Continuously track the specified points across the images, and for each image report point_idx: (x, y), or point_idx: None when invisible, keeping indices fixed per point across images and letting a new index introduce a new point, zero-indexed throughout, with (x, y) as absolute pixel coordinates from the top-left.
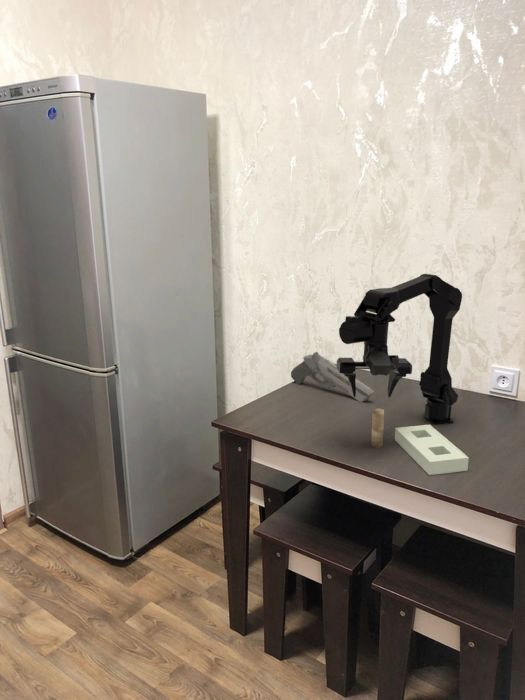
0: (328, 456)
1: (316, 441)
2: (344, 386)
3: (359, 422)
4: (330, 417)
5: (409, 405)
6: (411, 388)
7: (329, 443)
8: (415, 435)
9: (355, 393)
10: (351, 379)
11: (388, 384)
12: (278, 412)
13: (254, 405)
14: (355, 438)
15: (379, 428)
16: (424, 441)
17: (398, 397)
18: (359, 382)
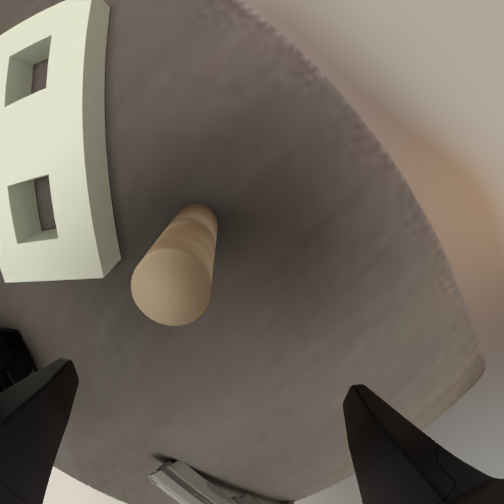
0: (390, 172)
1: (386, 282)
2: (216, 497)
3: (210, 387)
4: (285, 414)
5: (73, 425)
6: (76, 465)
7: (357, 264)
8: (51, 234)
9: (368, 404)
10: (482, 486)
11: (50, 457)
12: None
13: None
14: (258, 289)
15: (184, 222)
16: (36, 140)
17: (97, 454)
18: (182, 501)
